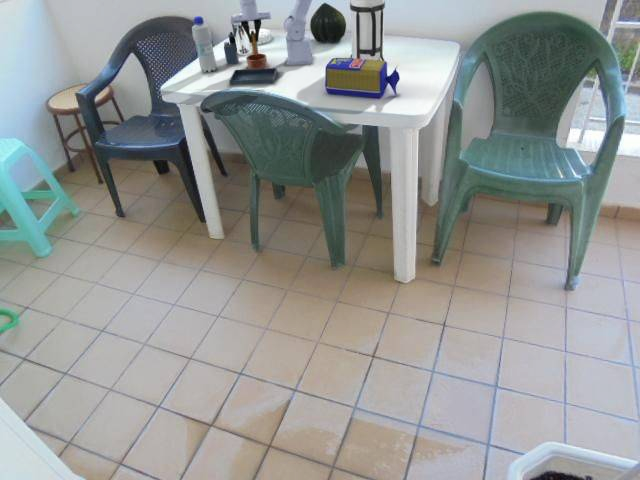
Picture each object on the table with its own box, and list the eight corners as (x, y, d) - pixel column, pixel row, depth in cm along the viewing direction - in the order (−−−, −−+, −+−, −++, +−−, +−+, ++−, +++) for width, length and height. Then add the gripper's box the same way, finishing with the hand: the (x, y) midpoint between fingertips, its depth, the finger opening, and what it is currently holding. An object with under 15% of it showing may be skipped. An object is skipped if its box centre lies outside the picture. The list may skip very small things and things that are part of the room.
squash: (336, 35, 194) (342, -2, 194) (302, 35, 199) (308, -2, 199) (346, 50, 208) (352, 15, 208) (314, 49, 213) (319, 15, 213)
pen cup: (268, 63, 191) (267, 52, 188) (266, 71, 185) (264, 60, 182) (249, 64, 192) (248, 53, 189) (246, 72, 186) (244, 61, 183)
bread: (332, 83, 172) (331, 54, 166) (401, 89, 165) (402, 58, 158) (322, 95, 165) (321, 65, 159) (394, 101, 158) (395, 70, 151)
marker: (258, 53, 186) (255, 30, 180) (258, 55, 184) (254, 31, 179) (253, 53, 186) (250, 30, 180) (252, 55, 184) (249, 32, 179)
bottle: (210, 75, 186) (198, 20, 173) (197, 72, 189) (184, 18, 176) (221, 69, 190) (211, 14, 177) (208, 66, 193) (197, 13, 180)
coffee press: (338, 64, 186) (334, -23, 166) (364, 51, 194) (364, -33, 175) (374, 74, 176) (374, -17, 157) (400, 60, 185) (403, -28, 165)
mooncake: (263, 46, 207) (261, 37, 204) (239, 43, 211) (237, 35, 209) (276, 37, 215) (275, 28, 212) (253, 34, 219) (252, 26, 217)
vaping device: (238, 64, 192) (233, 33, 184) (226, 64, 193) (219, 33, 185) (240, 62, 193) (235, 31, 186) (228, 62, 194) (222, 31, 187)
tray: (277, 73, 183) (276, 68, 182) (273, 84, 175) (273, 79, 174) (235, 75, 184) (234, 69, 183) (230, 86, 176) (229, 81, 175)
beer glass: (234, 55, 201) (227, 17, 191) (242, 49, 205) (235, 11, 196) (248, 56, 198) (242, 17, 189) (256, 50, 203) (251, 12, 193)
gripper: (266, -3, 177) (271, 35, 186) (227, 2, 175) (234, 40, 184) (269, 2, 172) (274, 41, 180) (228, 7, 170) (235, 46, 179)
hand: (254, 41), depth 182 cm, fingers closed on marker, 2 cm apart
